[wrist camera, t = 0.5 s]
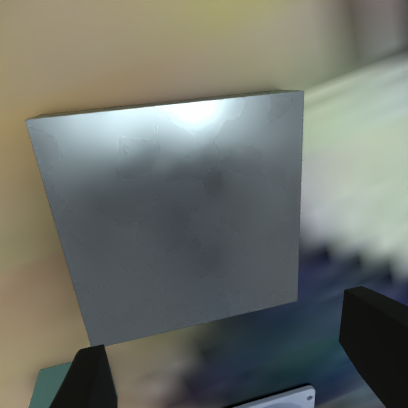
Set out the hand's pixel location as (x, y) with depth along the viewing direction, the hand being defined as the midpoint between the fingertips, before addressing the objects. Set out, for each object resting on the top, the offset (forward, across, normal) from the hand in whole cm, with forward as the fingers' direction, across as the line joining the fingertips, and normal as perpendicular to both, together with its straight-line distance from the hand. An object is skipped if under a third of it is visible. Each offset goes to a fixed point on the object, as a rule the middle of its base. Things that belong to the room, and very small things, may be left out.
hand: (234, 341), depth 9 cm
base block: (+10, 0, 0) cm, 10 cm away
